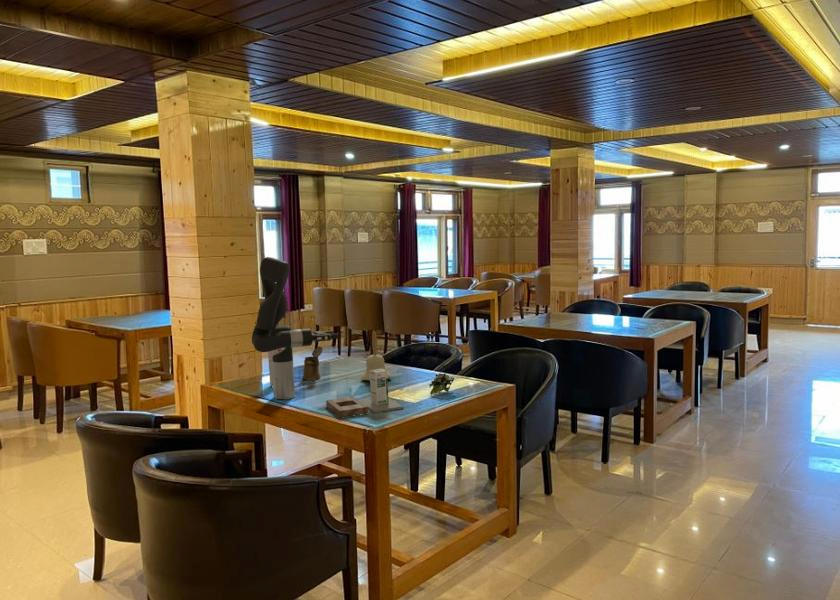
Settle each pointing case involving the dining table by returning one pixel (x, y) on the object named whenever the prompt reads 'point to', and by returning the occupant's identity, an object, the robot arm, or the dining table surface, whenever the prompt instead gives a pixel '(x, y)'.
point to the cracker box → (270, 355)
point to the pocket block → (346, 406)
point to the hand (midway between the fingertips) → (336, 334)
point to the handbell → (374, 360)
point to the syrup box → (379, 386)
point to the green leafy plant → (441, 383)
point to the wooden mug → (312, 365)
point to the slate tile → (383, 407)
